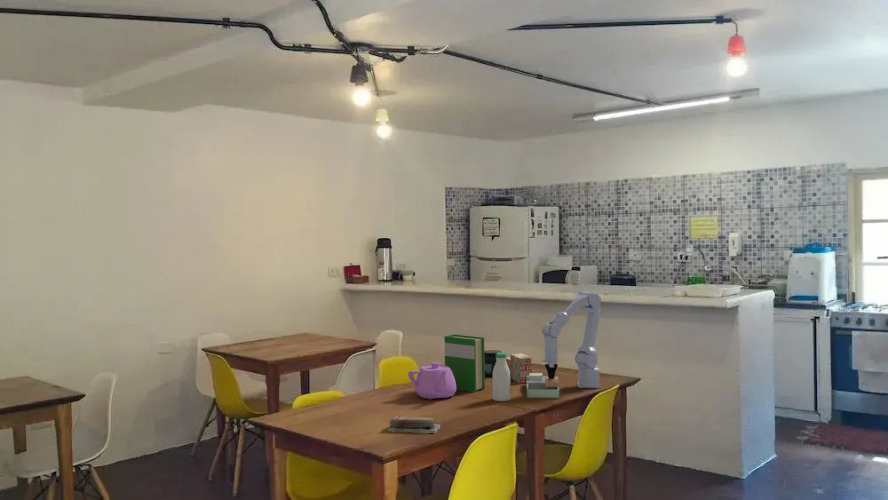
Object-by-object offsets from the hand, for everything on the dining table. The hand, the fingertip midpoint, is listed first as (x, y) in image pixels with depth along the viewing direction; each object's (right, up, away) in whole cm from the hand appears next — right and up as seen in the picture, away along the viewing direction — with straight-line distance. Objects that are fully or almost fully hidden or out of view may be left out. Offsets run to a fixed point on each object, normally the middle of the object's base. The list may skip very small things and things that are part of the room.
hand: (551, 380), depth 323 cm
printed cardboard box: (-12, -5, +29) cm, 32 cm away
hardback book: (-39, -6, +9) cm, 40 cm away
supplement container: (-24, -5, +39) cm, 46 cm away
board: (-3, -5, +7) cm, 9 cm away
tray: (-5, -5, -7) cm, 10 cm away
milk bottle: (-24, -6, -14) cm, 28 cm away
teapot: (-52, -6, -6) cm, 53 cm away
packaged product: (-59, -8, -58) cm, 83 cm away
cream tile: (-6, -1, +9) cm, 11 cm away
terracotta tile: (0, -1, -4) cm, 4 cm away
